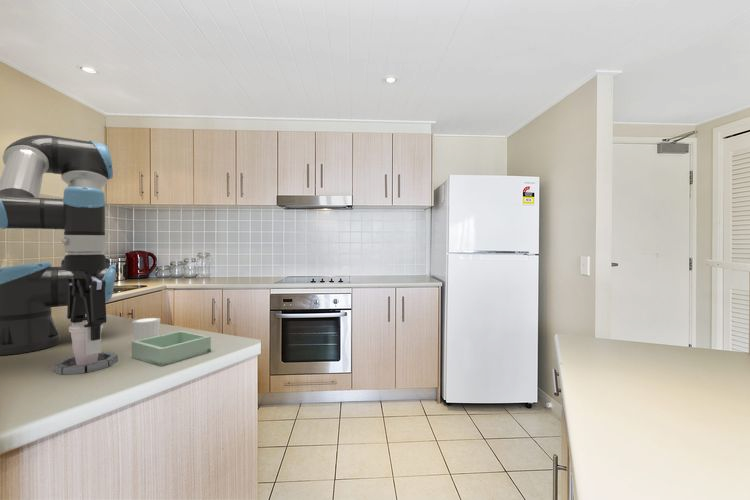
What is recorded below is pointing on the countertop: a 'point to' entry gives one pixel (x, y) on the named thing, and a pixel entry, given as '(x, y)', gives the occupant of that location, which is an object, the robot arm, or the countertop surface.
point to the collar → (65, 369)
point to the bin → (170, 347)
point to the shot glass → (146, 328)
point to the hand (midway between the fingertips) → (86, 351)
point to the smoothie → (81, 345)
